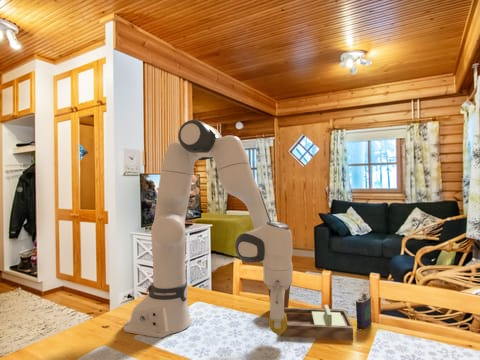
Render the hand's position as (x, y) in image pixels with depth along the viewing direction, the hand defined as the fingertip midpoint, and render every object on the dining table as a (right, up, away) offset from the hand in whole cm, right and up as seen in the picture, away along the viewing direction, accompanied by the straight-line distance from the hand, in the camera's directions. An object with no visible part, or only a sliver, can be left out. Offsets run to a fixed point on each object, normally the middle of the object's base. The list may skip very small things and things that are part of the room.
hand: (278, 322), depth 91 cm
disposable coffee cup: (+4, -7, +24) cm, 25 cm away
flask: (+30, -6, +11) cm, 33 cm away
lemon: (0, -4, 0) cm, 4 cm away
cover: (+18, -4, +9) cm, 20 cm away
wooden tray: (+13, -6, +10) cm, 18 cm away
